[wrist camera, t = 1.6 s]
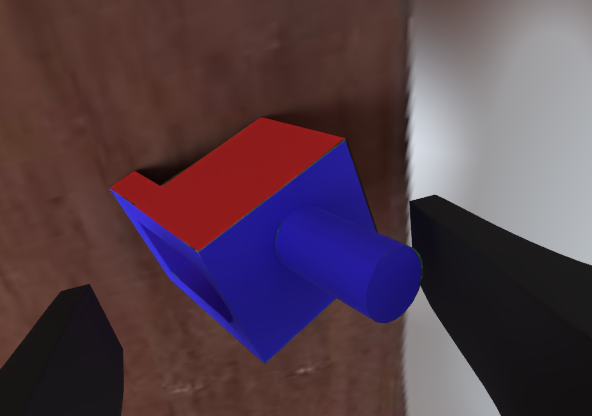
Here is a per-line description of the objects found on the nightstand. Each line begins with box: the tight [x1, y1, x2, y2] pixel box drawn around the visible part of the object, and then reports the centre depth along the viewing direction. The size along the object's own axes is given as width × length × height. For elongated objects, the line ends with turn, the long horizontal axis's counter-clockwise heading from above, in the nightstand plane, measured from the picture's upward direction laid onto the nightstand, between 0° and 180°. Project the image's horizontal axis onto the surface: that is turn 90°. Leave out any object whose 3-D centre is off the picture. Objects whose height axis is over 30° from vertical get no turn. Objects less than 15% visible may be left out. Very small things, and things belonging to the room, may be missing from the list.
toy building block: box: [109, 117, 423, 364], centre depth 13 cm, size 4×4×8 cm
